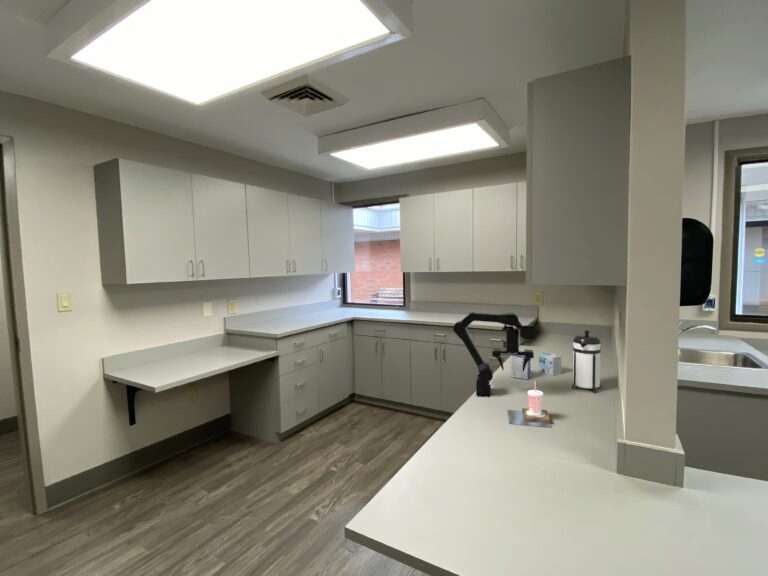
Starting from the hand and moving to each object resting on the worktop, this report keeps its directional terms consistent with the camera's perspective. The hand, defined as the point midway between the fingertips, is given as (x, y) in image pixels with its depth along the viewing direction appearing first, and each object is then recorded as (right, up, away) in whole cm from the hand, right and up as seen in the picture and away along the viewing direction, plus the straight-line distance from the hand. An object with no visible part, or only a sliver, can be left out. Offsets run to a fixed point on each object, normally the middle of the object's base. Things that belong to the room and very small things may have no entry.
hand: (512, 370), depth 181 cm
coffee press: (+42, -11, +11) cm, 44 cm away
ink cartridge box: (+15, -11, +30) cm, 35 cm away
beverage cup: (+1, -13, -24) cm, 27 cm away
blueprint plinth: (-2, -15, -24) cm, 28 cm away
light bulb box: (+34, -10, +37) cm, 52 cm away
